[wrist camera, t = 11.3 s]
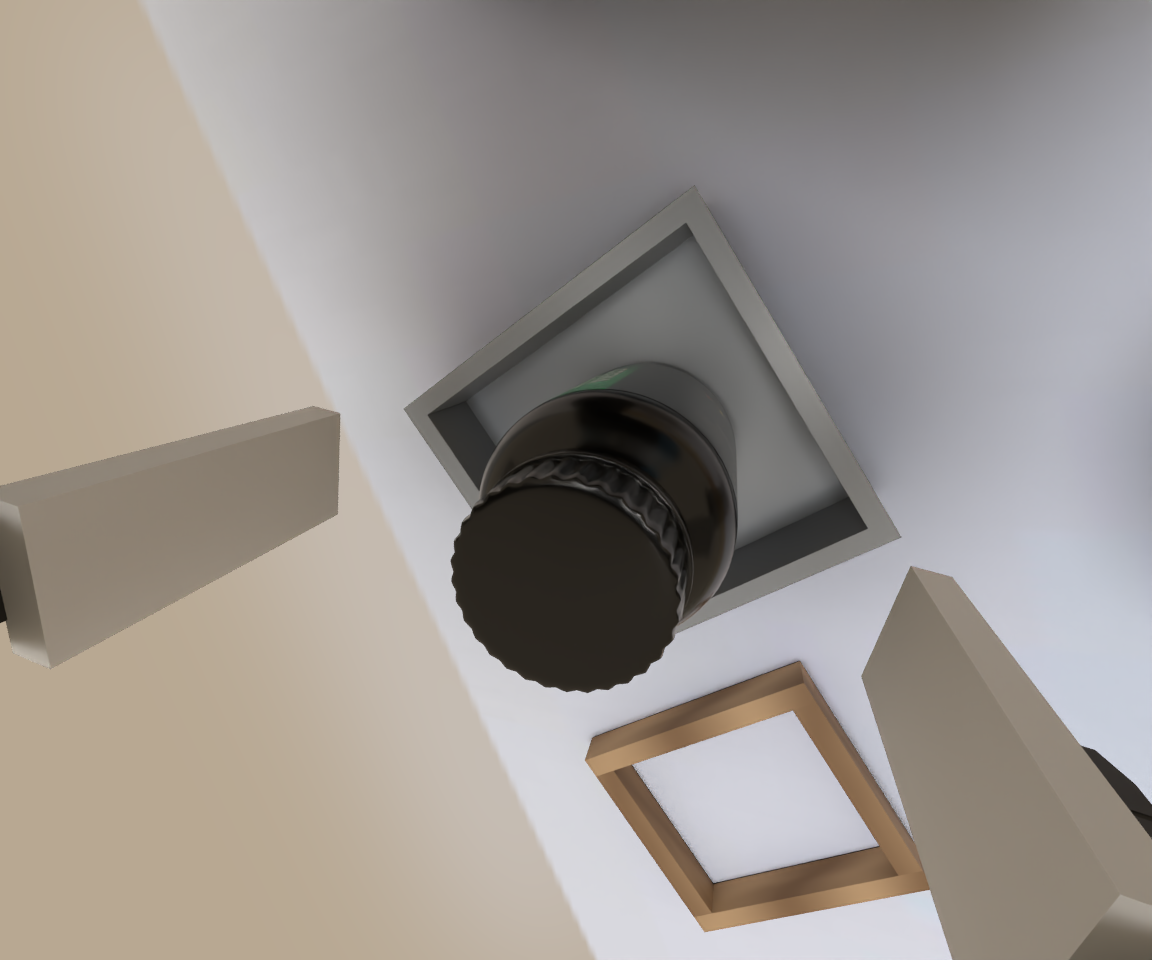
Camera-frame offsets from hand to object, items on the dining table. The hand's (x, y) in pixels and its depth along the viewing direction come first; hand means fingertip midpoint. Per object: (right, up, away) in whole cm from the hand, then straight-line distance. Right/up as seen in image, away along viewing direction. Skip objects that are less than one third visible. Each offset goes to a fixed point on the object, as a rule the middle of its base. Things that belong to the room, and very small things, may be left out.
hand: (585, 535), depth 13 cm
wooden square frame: (+8, -14, +14) cm, 21 cm away
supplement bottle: (+3, +3, +10) cm, 10 cm away
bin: (+3, +3, +10) cm, 11 cm away
